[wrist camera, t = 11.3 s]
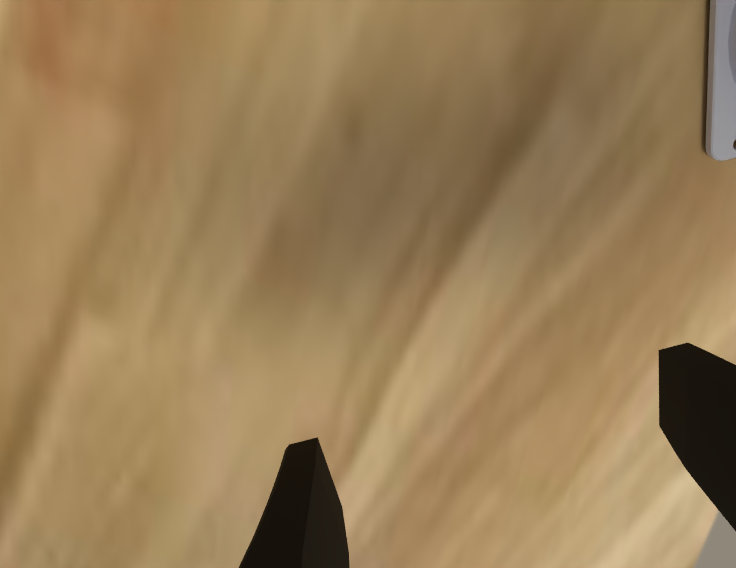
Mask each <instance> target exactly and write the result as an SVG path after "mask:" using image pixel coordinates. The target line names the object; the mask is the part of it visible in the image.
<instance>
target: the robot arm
mask: <svg viewBox="0 0 736 568" xmlns="http://www.w3.org/2000/svg"><path fill="white" fill-rule="evenodd" d="M735 140H736V0H710V25H709V57H708V89H707V120H706V153H707V154H708V155H709V157H711V158H713V159H716V160H718V161H725V160H729V159H733V158H736V147H734V148H733V143H734V141H735ZM659 426H660V428H661V429H662V431H663V433H664V434H665V436H666V438H667V439H668V441H669V443H670V444H671V446H672V448H673V449H674V451H675V453H676V454H677V456H678V457H679V459H680V460H681V462H682V464H683V465H684V467H685V468H686V470H687V471H688V472H689V473H690V475H691V476H692V477H693V479H694V480H695V481H696V482H697V484H698V485H699V486H700V487H701V489H702V490H703V491H704V492H705V494H706V495H707V496H708V497H709V499H710V500H711V501H712V502H713V504H714V505H715V506H716V507H717V509H718V510H719V511H720V512H721V514H722V515H723V516H724V517H725V518H726V520H727V521H728V522H729V523H730V525H731V526H732V527H733V528H734V530H735V531H736V365H734V364H732V363H730V362H728V361H726V360H724V359H722V358H720V357H718V356H716V355H714V354H712V353H709V352H707V351H705V350H703V349H701V348H699V347H697V346H694V345H692V344H690V343H685V344H681V345H677V346H673V347H669V348H665V349H661V350H659ZM239 568H349V552H348V544H347V537H346V530H345V524H344V517H343V510H342V505H341V503H340V500H339V497H338V494H337V491H336V488H335V486H334V483H333V480H332V477H331V474H330V471H329V469H328V466H327V463H326V460H325V457H324V454H323V452H322V449H321V446H320V443H319V440H318V437H317V438H313V439H310V440H306V441H302V442H298V443H294V444H290V445H288V447H287V448H286V450H285V453H284V456H283V459H282V462H281V466H280V469H279V472H278V475H277V478H276V480H275V483H274V486H273V489H272V492H271V494H270V497H269V500H268V502H267V505H266V507H265V510H264V512H263V515H262V517H261V519H260V522H259V524H258V527H257V529H256V532H255V534H254V536H253V538H252V541H251V543H250V545H249V547H248V549H247V551H246V553H245V555H244V558H243V560H242V562H241V564H240V566H239Z"/></svg>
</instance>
